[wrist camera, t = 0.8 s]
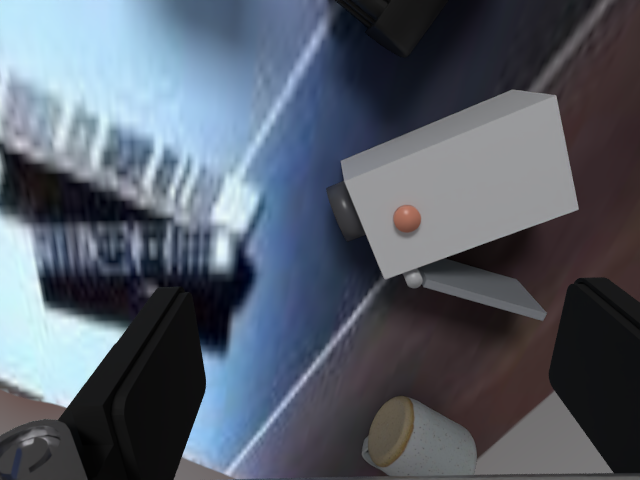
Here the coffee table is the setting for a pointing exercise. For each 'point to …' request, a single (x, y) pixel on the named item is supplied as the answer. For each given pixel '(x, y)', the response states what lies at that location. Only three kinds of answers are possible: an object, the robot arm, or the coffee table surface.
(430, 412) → the ceramic mug
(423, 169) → the camera body
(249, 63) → the coffee table surface
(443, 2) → the power tool battery
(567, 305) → the robot arm
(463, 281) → the side door
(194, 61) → the coffee table surface
